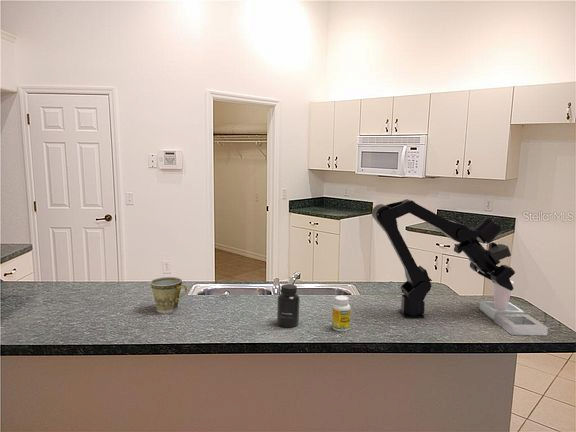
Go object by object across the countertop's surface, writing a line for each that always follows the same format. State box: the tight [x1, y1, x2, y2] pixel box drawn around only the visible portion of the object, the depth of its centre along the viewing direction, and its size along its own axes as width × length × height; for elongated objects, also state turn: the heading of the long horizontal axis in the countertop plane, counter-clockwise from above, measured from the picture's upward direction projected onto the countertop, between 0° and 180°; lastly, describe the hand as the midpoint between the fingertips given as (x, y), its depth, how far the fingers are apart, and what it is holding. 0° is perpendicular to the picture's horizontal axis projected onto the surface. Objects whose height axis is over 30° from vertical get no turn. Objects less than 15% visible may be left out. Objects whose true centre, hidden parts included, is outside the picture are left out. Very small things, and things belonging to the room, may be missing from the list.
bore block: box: [493, 313, 549, 336], centre depth 126 cm, size 10×10×2 cm
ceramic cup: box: [150, 276, 188, 315], centre depth 136 cm, size 13×10×10 cm
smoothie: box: [491, 279, 515, 311], centre depth 136 cm, size 6×6×14 cm
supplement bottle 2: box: [331, 295, 352, 332], centre depth 123 cm, size 5×5×10 cm
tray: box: [479, 300, 525, 321], centre depth 137 cm, size 10×10×3 cm
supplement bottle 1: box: [276, 283, 301, 329], centre depth 126 cm, size 7×7×12 cm
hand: (506, 286), depth 136 cm, fingers closed on smoothie, 6 cm apart
